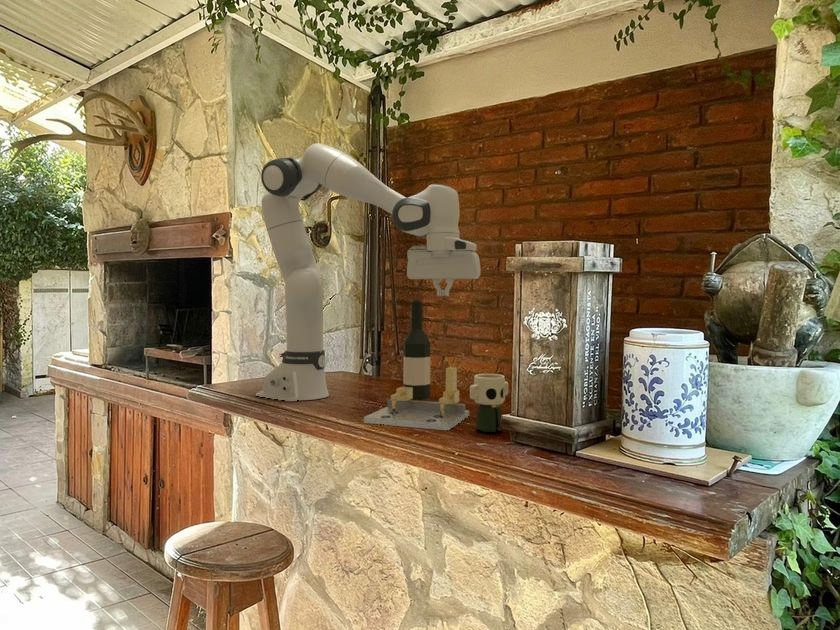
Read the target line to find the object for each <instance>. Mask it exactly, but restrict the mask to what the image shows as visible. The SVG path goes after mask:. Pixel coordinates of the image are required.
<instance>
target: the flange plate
mask: <svg viewBox="0 0 840 630" xmlns="http://www.w3.org/2000/svg"><path fill="white" fill-rule="evenodd" d="M412 398H413V387H404V386H400V387H397V388H396V392H395V393H393V394H391V395H390V398H389V399H387V406H385V407H384V408H380V409H379V410H376V411H374V412H372V413H370V414H368V415H366V416H364V417H363V423H364V424H370V425H380V424H382V426H394V427H404V428H414V429H415V428H416V429H425V430H427V429H428V430H438V431H447V430H448V431H450V430H451V428H452V429H453V428H454V427H456V426H457V425H459V424H460V423H462V422H463V421H465V420H466V419H467V418H469V417H470V410H467V409H466V404H465V403H456V404H444V415H440V403H439V401H430V400H429V401H428V400H417V399H412ZM468 416H469V417H468ZM465 418H466V419H465ZM464 419H465V420H464ZM462 420H463V421H462ZM461 421H462V422H461ZM458 423H459V424H458ZM383 424H384V425H383Z"/></svg>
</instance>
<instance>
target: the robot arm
mask: <svg viewBox="0 0 840 630" xmlns="http://www.w3.org/2000/svg"><path fill="white" fill-rule="evenodd" d="M260 173H261V174H260V175H261V176H260V179H261V180H260V181H261V184H262V186H263V188H264V190H266V193H265V194H264V195H263V196H262V198H261V210H262V211H261V212H262V216H263V221H264V222H263V223H264V225H265V228H266V229H265V230H266V231H267V235H268V238H269V241H270V244H271V247H272V250H273V253H274V254H273V255H274V257H275V259H276V262H277V264H278V268H279V271H280V272H281V276H282V279H283V281H284V300H285V301H284V302H285V322H286V323H285V324H286V351H283V352H282V353H279V354H278V355H279V357H278V358H282V359H281V363H280V364H278V366H276V367H275V368H274V369H273V370H271V371H270V372H269V373H268V374H266V376H265V377H264V381H263V387H262V390H259V391H258V392H257V391H256V393H255V395H256V396H260V397H266V398H265V399H267V398H272V399H271V400H274V399H278V400H277V401H281V400H285V401H284V402H297V400H299V401H310V400H318V399H324V398H327V397H329V396H330V393H329V390H328V387H327V386H328V385H327V382H326V381H327V380H326V375H325V374H326V373H325V366H326V353H325V352H326V350H325V349H324V285H323V282H322V278H321V275H320V271H319V269H318V266H317V262H316V258H315V255H314V253H313V249H312V246H311V243H310V240H309V237H308V233H307V231H306V227H305V224H304V221H303V218H302V217H303V216H301V211H300V208H299V207H300V202H301V201H302V202H303V201H307V200H308V199H309V198H310V197H311V196H312V195H314V194H316V193H317V192H318V191H319V190H321V189H322V187H325V188H326V189H328V190H330V191H331V192H333V193H335V194H337V195H340V196H342V197H345V198H348V199H352V200H356V201H359V202H363V203H367V204H372V206H376V207H379V208H380V209H382V210H384V211H386V212H387V213H389V214H391V219H392V223H393V224H394V226H395V227H396V229H398V230H400V231H402V232H404V233H406V234H409V235H413V236H415V237H418V238H420V239H425V238H426V245H424V244H423V245H412V246H411V247H410V248H408V250H407V256H406V257H407V266H406V277H407V278H408V279H409V280H432V285H433V287H435V289H436V296H437V297H450V290H451V288H452V286H453V284H454V280H476V279H479V277H480V276H481V262H480V257H479V254H478V253H477V252H476V251H477V247H478V245H477V244H476V243H474V242H471V241H468V240H467V239H464V238H460V230H459V221H460V200H459V194H458V191H457V190H456V189H455V188H454V187H452V186H450V185H447V184H444V183H443V184H442V183H432V184H429V185H428V186H427V187H426V188H425V189H424V190H422V191H421V192H418V193H416V194H414V195H410V196H409V197H406V196H405V195H403V194H401V193H399V192H397V191H395V190H393V189H392V188H390V187H389V186H387V185H386V184H385V183H383V182H382V181H381V180H380V179H378V178H377V177H376V176H375V175H374V174H373V173H372V172H370V171H369V170H368V169H367V168H366V167H365V166H364V165H362V164H361V163H360V162H359V161H357V160H356V159H355V158H353V157H352V156H350V155H349V154H347V153H345V152H343V151H341V150H339V149H337V148H335V147H332V146H330V145H327V144H324V143H320V142H315V143H313V144H311V145H309V146H308V147H307V148H306V150H305V151H304V152H303V155H302V157H301V158H298V157H279V158H275V159H272V160H270V161H267V163H266V164H264V165H263V167H262V169H261V172H260ZM441 280H445V284H446V287H445V289H442V288H441V285H440V284H441ZM260 397H259V398H260Z"/></svg>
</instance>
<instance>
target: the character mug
mask: <svg viewBox="0 0 840 630" xmlns="http://www.w3.org/2000/svg"><path fill="white" fill-rule="evenodd" d="M508 395H509V383H508V381H506V378H505V375H503V374H498V373H479V374H478V373H477V374H475V375H474V377H473V384H472V385H470V386H469V398H470V399H471V400H474V403H476V404H479V406H478V409H477V413H476V414H477V415H476V421H475V422H476V423H475V429H478V430H480V431H482V432H484V433H485V432H487V433H489V432H490V433H494V432H496V431H497V429H498V431H499V432H500V431H502V430H503V426H502V427H501V422H500V420H501V417H502V411H501V407H500V405H501V404H503V403H504V402H505V400H506V396H508Z"/></svg>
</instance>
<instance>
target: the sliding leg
mask: <svg viewBox="0 0 840 630" xmlns="http://www.w3.org/2000/svg"><path fill="white" fill-rule="evenodd" d="M457 373H458V367H457V366H454V367H453V366H449V367H445V391H442V395H443V396H442V397H440V398H438V399H439V401H438V402H439V403H440V415H444V404H456V403H457V404H459V403H460V390H459V389H458V388H457V387H458V385H457V384H458V381H457V380H458V374H457Z"/></svg>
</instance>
